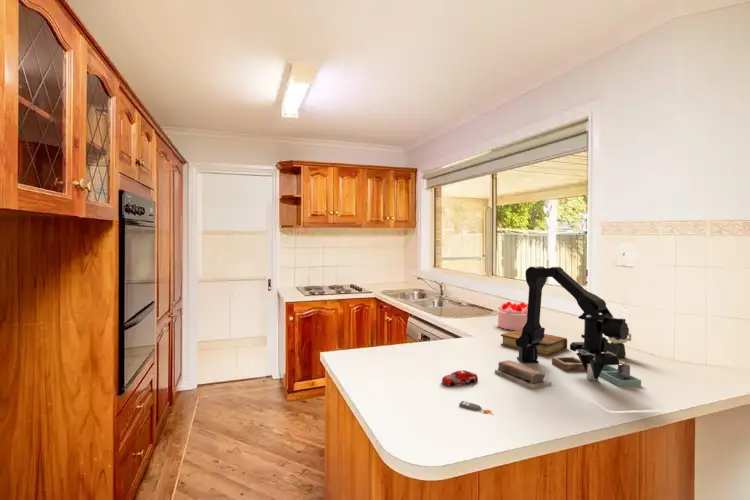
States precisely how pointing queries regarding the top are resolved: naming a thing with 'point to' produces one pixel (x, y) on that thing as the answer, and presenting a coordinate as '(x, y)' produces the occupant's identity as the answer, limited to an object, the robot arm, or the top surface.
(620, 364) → the dark cell
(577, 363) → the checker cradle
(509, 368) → the packaged product
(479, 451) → the top surface
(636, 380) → the trough tray
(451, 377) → the race car
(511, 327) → the cake
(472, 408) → the key chain
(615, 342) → the mug head figurine
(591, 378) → the steel cell
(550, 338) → the diary
